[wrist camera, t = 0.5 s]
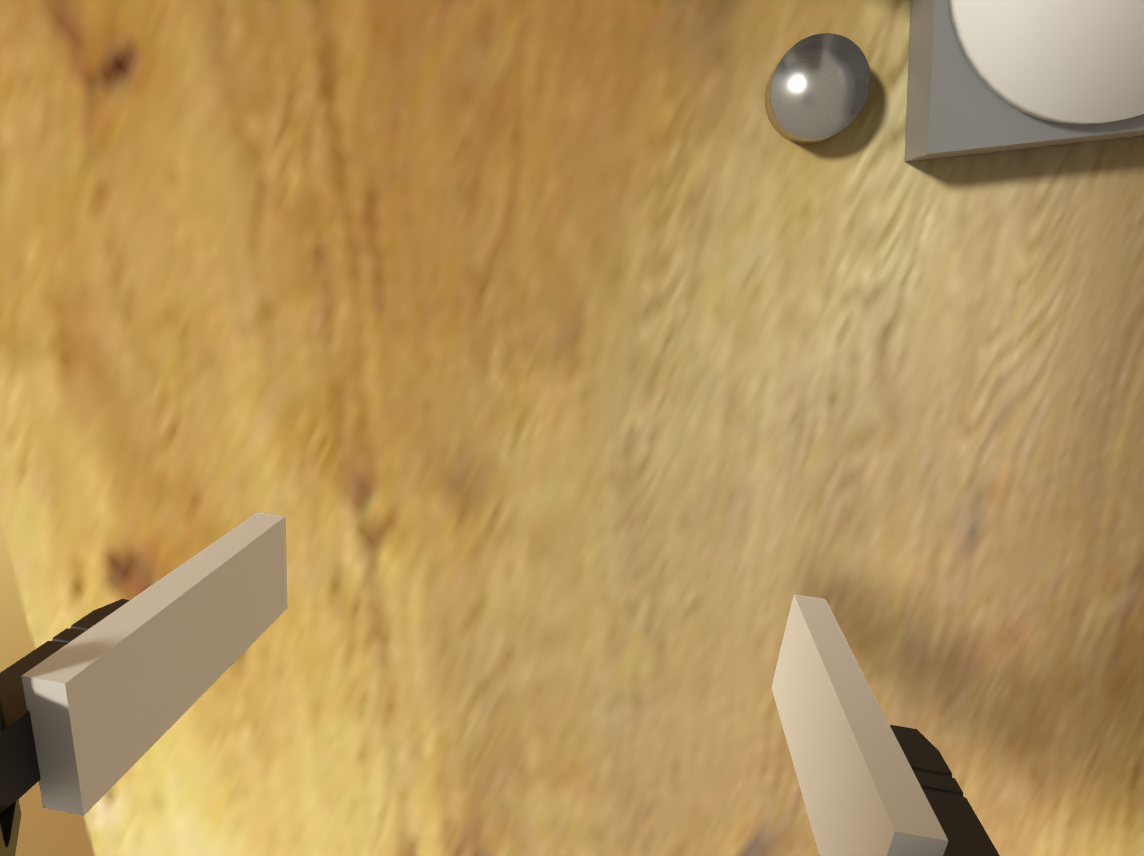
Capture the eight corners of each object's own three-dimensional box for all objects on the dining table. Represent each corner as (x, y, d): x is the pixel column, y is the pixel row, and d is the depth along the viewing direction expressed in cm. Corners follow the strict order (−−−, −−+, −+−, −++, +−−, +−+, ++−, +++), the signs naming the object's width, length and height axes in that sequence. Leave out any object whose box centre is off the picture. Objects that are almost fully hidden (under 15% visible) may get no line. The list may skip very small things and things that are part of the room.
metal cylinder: (763, 52, 35) (770, 40, 33) (859, 39, 34) (871, 26, 33) (765, 149, 36) (771, 143, 34) (857, 138, 36) (868, 132, 34)
